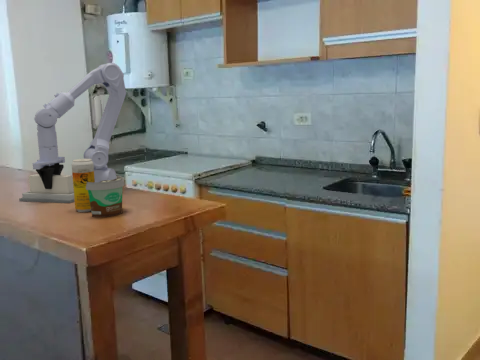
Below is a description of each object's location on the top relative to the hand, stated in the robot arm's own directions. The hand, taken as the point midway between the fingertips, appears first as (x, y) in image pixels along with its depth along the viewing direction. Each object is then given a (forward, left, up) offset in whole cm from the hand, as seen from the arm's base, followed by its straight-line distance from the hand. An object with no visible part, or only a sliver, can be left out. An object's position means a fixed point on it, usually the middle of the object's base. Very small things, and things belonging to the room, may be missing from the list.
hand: (51, 187), depth 161 cm
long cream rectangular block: (0, 0, -2) cm, 2 cm away
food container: (-29, +15, -4) cm, 33 cm away
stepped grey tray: (0, 0, -4) cm, 4 cm away
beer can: (-19, +12, -4) cm, 23 cm away
